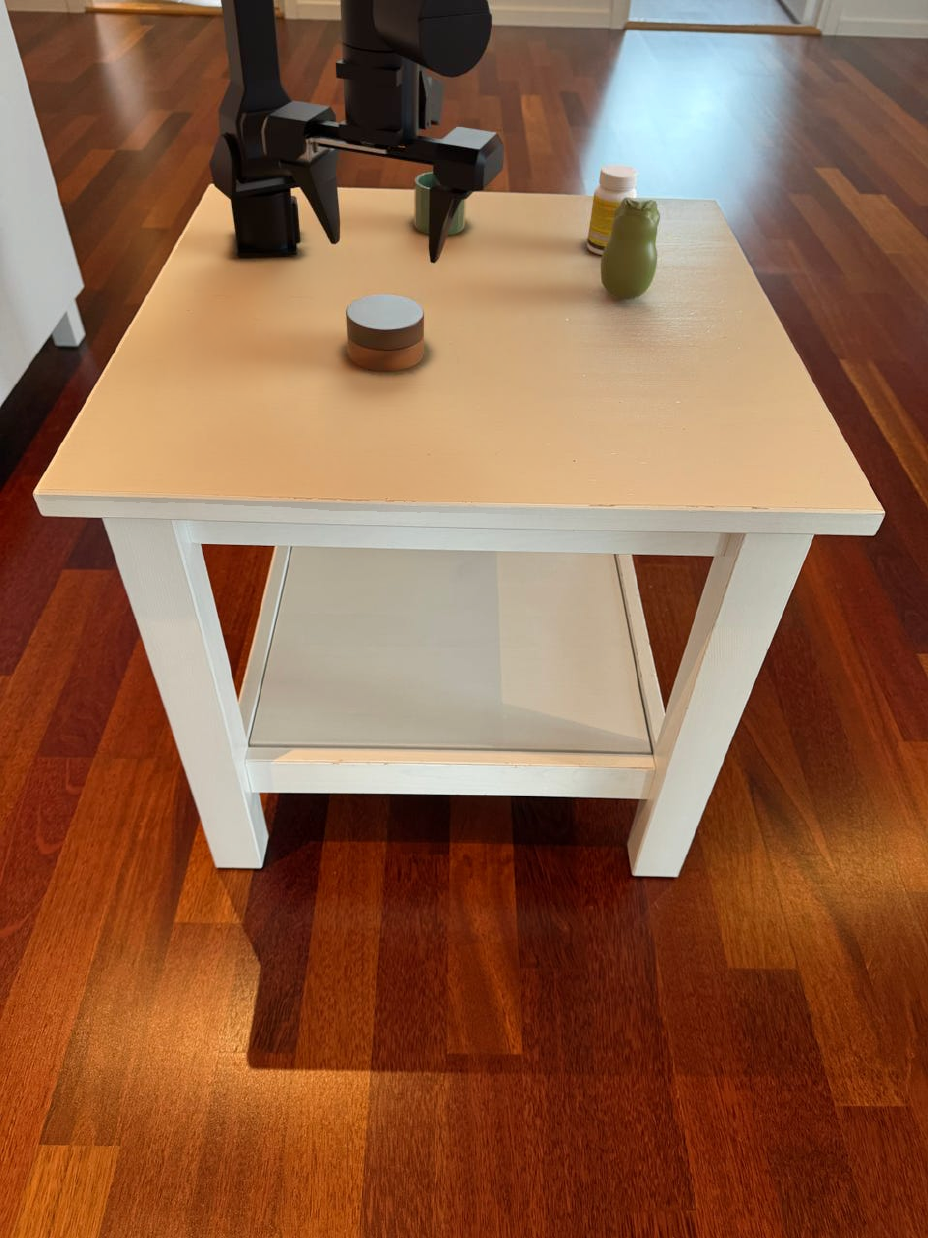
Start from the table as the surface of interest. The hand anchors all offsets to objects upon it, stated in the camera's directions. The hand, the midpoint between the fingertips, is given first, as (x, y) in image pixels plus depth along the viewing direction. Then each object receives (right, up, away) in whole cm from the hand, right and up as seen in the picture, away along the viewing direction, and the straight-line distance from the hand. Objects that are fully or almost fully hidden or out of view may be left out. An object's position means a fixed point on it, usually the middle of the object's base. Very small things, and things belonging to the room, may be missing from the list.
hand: (384, 251), depth 79 cm
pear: (+23, +2, +17) cm, 29 cm away
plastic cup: (+4, +14, +28) cm, 32 cm away
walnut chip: (0, -5, +5) cm, 7 cm away
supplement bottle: (+23, +10, +26) cm, 36 cm away
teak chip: (0, -7, +6) cm, 9 cm away
